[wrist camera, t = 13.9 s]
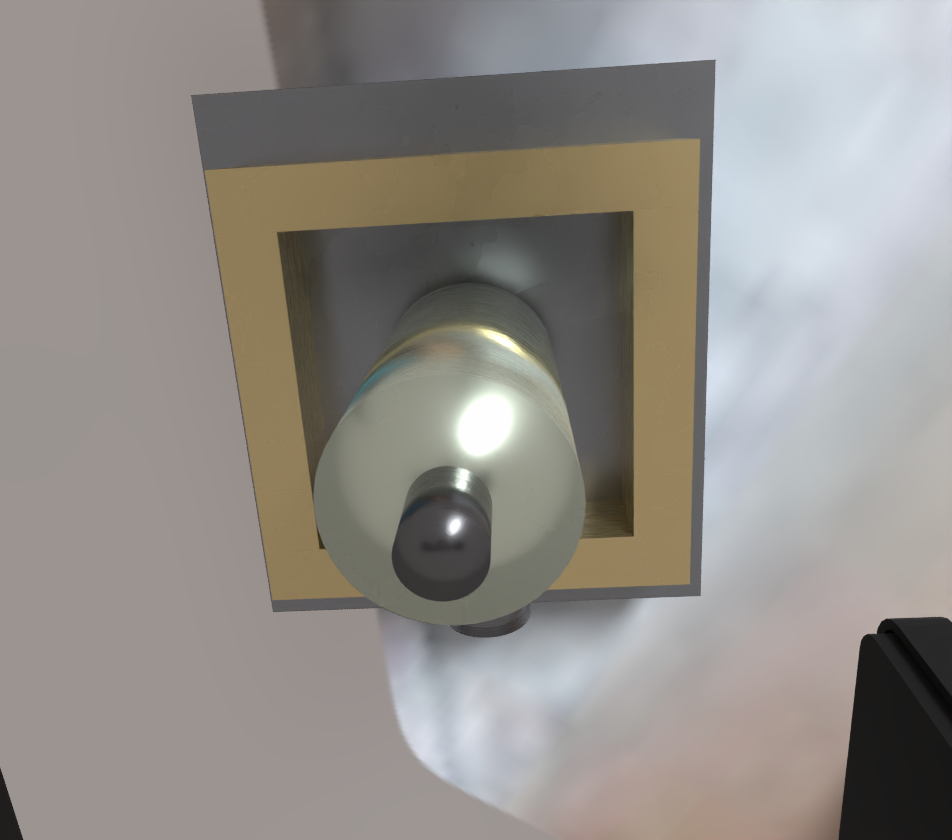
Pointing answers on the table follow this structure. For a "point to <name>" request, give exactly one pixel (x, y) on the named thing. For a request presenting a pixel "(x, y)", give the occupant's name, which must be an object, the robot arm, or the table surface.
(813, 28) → the table surface
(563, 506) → the pale green bottle
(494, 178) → the grey and gold box
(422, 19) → the table surface
